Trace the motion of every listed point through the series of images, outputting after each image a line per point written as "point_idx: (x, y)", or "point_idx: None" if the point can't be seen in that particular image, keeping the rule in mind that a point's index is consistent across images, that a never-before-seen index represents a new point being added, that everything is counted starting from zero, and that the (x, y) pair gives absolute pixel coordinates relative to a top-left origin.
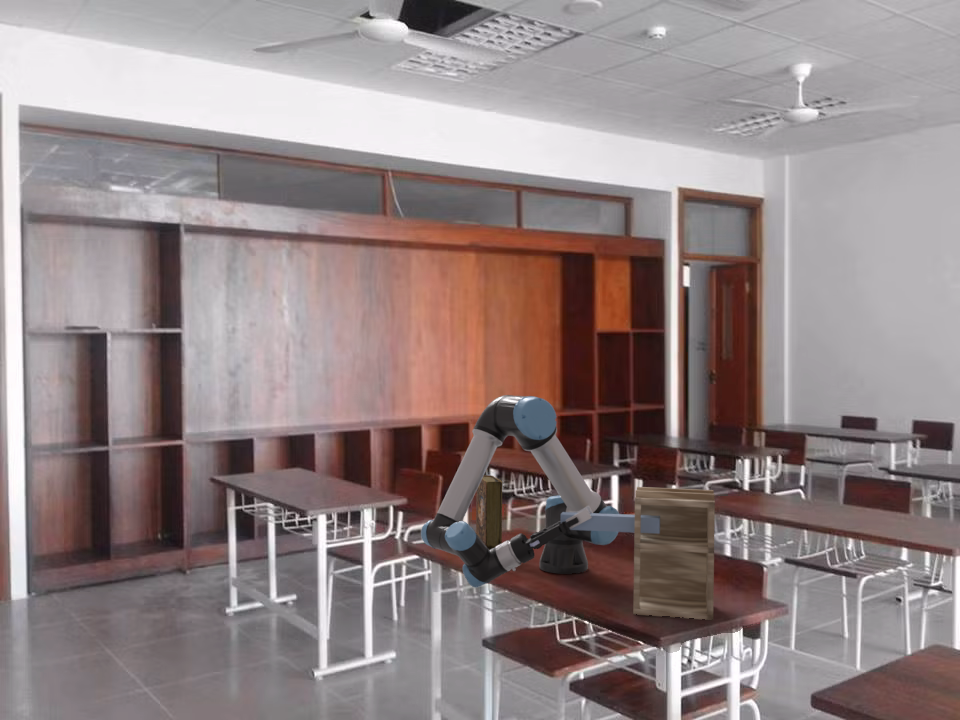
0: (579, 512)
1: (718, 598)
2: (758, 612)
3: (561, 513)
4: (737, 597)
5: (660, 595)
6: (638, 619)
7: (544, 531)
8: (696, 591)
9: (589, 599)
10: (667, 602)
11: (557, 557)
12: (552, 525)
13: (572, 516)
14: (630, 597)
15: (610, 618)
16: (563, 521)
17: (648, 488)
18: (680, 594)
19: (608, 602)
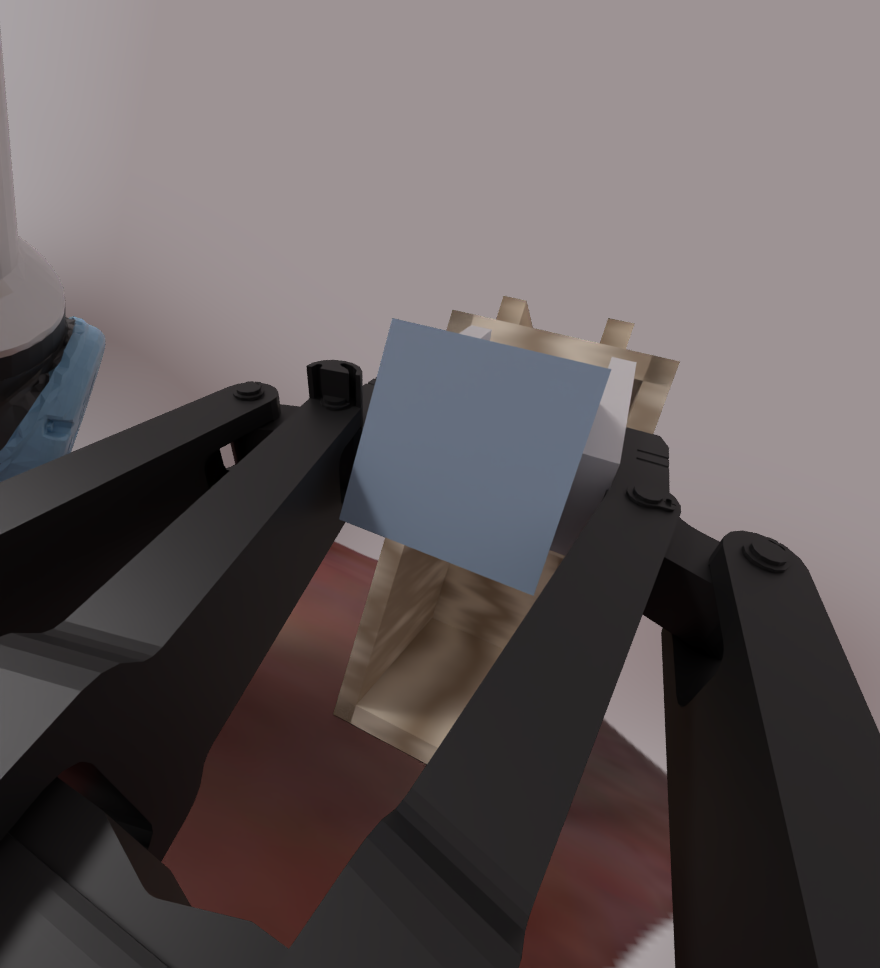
0: (618, 383)
1: (369, 589)
2: None
3: (522, 348)
4: (370, 572)
5: (393, 658)
6: (575, 825)
7: (447, 851)
8: (431, 605)
9: (235, 899)
10: (441, 675)
11: None
12: (64, 505)
13: (625, 419)
14: (290, 711)
15: (599, 949)
16: (658, 488)
17: (530, 319)
18: (415, 629)
19: (330, 822)
